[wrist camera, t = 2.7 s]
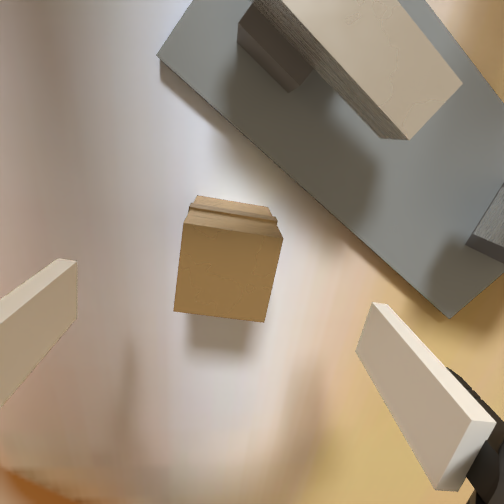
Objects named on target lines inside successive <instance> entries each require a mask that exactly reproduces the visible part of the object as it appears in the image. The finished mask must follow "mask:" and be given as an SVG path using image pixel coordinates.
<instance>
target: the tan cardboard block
mask: <svg viewBox="0 0 504 504" xmlns="http://www.w3.org/2000/svg"><path fill="white" fill-rule="evenodd" d="M282 242H283V237H282V235H281V233H280V231H279V229H278V227H277V219H276V217H273V216H272V214H271V212H270V210H269V208H268V207H264V206H258V205H252V204H246V203H240V202H234V201H228V200H222V199H216V198H210V197H204V196H198V195H197V197H196V199H195V201H194V203H191V204H190V206H189V211H188V215H187V217H186V219H185V221H184V223H183V232H182V241H181V250H180V258H179V267H178V276H177V285H176V293H175V302H174V312H183V313H191V314H199V315H207V316H215V317H223V318H231V319H239V320H247V321H255V322H264V321H265V317H266V312H267V308H268V303H269V299H270V295H271V290H272V286H273V281H274V277H275V273H276V268H277V264H278V260H279V255H280V251H281V246H282Z"/></svg>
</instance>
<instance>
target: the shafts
mask: <svg viewBox="0 0 504 504" xmlns="http://www.w3.org/2000/svg"><path fill="white" fill-rule="evenodd" d="M249 1H250V2H251V3H252V4H253V5H254V6H255V7H256V8H257V9H258V10H259V11H260V12H261V13H262V14H263V15H264V16H265V17H266V18H267V20H268V21H269V22H270V23H271V24H272V25H273V26H274V27H275V28H276V29H277V30H278V31H279V32H280V33H281V34H282V35H283V36H284V37H285V39H286V40H287V41H288V42H289V43H290V44H291V45H292V46H293V47H294V48H295V49H296V50H297V51H298V52H299V53H300V54H301V55H302V56H303V58H304V59H305V60H306V61H307V62H308V63H309V64H310V65H311V66H312V67H313V68H314V69H315V70H316V71H317V72H318V73H319V74H320V75H321V77H322V78H323V79H324V80H325V81H326V82H327V83H328V84H329V85H330V86H331V87H332V88H333V89H334V90H335V91H336V92H337V93H338V94H339V96H340V97H341V98H342V99H343V100H344V101H345V102H346V103H347V104H348V105H349V106H350V107H351V108H352V109H353V110H354V111H355V112H356V113H357V115H358V116H359V117H360V118H361V119H362V120H363V121H364V122H365V123H366V124H367V125H368V126H369V127H370V128H371V129H372V130H373V131H374V132H375V134H376V135H377V136H378V137H379V138H380V139H395V140H410V139H411V138H412V137H413V136H414V135H415V134H416V133H417V132H418V131H419V130H420V129H421V128H422V127H423V125H424V124H425V123H426V122H427V121H428V120H429V119H430V118H431V117H432V116H433V115H434V114H435V113H436V112H437V111H438V110H439V109H440V107H441V106H442V105H443V104H444V103H445V102H446V101H447V100H448V99H449V98H450V97H451V96H452V95H453V94H454V93H455V92H456V90H457V89H458V88H459V87H460V86H461V85H462V84H463V83H462V81H461V80H460V79H459V78H458V76H457V75H456V74H455V73H454V71H453V70H452V69H451V68H450V66H449V65H448V64H447V63H446V61H445V60H444V59H443V57H442V56H441V55H440V54H439V52H438V51H437V50H436V49H435V47H434V46H433V45H432V44H431V42H430V41H429V40H428V38H427V37H426V36H425V35H424V33H423V32H422V31H421V30H420V28H419V27H418V26H417V25H416V23H415V22H414V21H413V20H412V18H411V17H410V16H409V14H408V13H407V12H406V11H405V9H404V8H403V7H402V6H401V4H400V3H399V2H398V1H397V0H249ZM473 234H474V235H477V236H479V237H481V238H484V239H486V240H488V241H491V242H493V243H495V244H498V245H500V246H502V247H504V187H502V188H501V190H500V191H499V193H498V194H497V196H496V198H495V199H494V201H493V202H492V204H491V206H490V207H489V209H488V210H487V212H486V214H485V215H484V217H483V218H482V220H481V222H480V223H479V225H478V226H477V228H476V230H475V231H474V233H473Z"/></svg>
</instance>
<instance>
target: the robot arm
mask: <svg viewBox="0 0 504 504" xmlns="http://www.w3.org/2000/svg"><path fill="white" fill-rule="evenodd" d="M76 319H77V261H74V260H67V259H60V258H58V259H56V260H55V261H54V262H52V263H51V264H49V265H48V266H46V267H45V268H44V269H42V270H41V271H39V272H38V273H37V274H35V275H34V276H32V277H31V278H30V279H28V280H27V281H25V282H24V283H23V284H21V285H20V286H18V287H17V288H15V289H14V290H13V291H11V292H10V293H8V294H7V295H6V296H4V297H3V298H1V299H0V409H1V407H2V406H3V405H4V404H5V403H6V401H7V400H8V399H9V398H10V397H11V396H12V394H13V393H14V392H15V391H16V390H17V388H18V387H19V386H20V385H21V384H22V382H23V381H24V380H25V379H26V378H27V377H28V375H29V374H30V373H31V372H32V371H33V369H34V368H35V367H36V366H37V365H38V364H39V362H40V361H41V360H42V359H43V358H44V356H45V355H46V354H47V353H48V352H49V351H50V349H51V348H52V347H53V346H54V345H55V343H56V342H57V341H58V340H59V339H60V337H61V336H62V335H63V334H64V333H65V332H66V330H67V329H68V328H69V327H70V326H71V324H72V323H73V322H74V321H75V320H76ZM355 352H356V353H357V355H358V357H359V359H360V360H361V362H362V364H363V366H364V367H365V369H366V371H367V373H368V374H369V376H370V378H371V380H372V381H373V383H374V385H375V386H376V388H377V390H378V392H379V393H380V395H381V397H382V399H383V400H384V402H385V404H386V406H387V407H388V409H389V411H390V413H391V414H392V416H393V418H394V420H395V421H396V423H397V425H398V427H399V428H400V430H401V432H402V434H403V435H404V437H405V439H406V440H407V442H408V444H409V446H410V447H411V449H412V451H413V453H414V454H415V456H416V458H417V460H418V461H419V463H420V465H421V467H422V468H423V470H424V472H425V474H426V475H427V477H428V479H429V481H430V482H431V484H432V486H433V488H434V489H435V490H441V491H456V492H458V491H459V489H460V487H461V486H462V484H463V482H464V480H465V478H466V477H467V478H468V480H469V481H470V483H471V484H472V486H473V487H474V488H475V489H474V491H473V493H472V495H471V496H470V498H469V500H468V501H467V503H466V504H504V422H503V421H502V420H501V418H500V417H499V416H498V415H497V414H496V413H495V412H494V411H493V410H492V409H491V408H490V407H489V406H488V405H487V404H486V403H485V402H484V401H483V400H481V399H480V398H481V397H480V396H479V395H478V394H477V393H476V392H475V391H473V390H472V388H471V387H470V386H469V385H468V384H467V383H466V382H465V381H464V380H463V379H462V377H460V376H459V375H457V374H456V373H455V372H453V371H452V370H451V369H449V368H448V367H445V366H444V365H443V364H442V363H441V362H440V361H439V360H438V359H437V357H436V356H435V355H434V354H433V353H432V352H431V351H430V350H429V349H428V348H427V347H426V346H425V344H424V343H423V342H422V341H421V340H420V339H419V338H418V337H417V336H416V335H415V334H414V333H413V331H412V330H411V329H410V328H409V327H408V326H407V325H406V324H405V323H404V322H403V321H402V320H401V318H400V317H399V316H398V315H397V314H396V313H395V312H394V311H393V310H392V309H391V308H390V307H389V305H388V304H382V303H375V302H372V304H371V307H370V310H369V313H368V316H367V318H366V321H365V324H364V327H363V330H362V333H361V336H360V339H359V342H358V345H357V348H356V351H355Z"/></svg>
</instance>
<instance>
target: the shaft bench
mask: <svg viewBox="0 0 504 504" xmlns="http://www.w3.org/2000/svg"><path fill="white" fill-rule="evenodd" d="M397 1H398V2H399V3H400V4H401V6H402V7H403V8H404V9H405V11H406V12H407V13H408V14H409V16H410V17H411V18H412V20H413V21H414V22H415V23H416V25H417V26H418V27H419V28H420V30H421V31H422V32H423V33H424V35H425V36H426V37H427V38H428V40H429V41H430V42H431V44H432V45H433V46H434V47H435V49H436V50H437V51H438V52H439V54H440V55H441V56H442V57H443V59H444V60H445V61H446V63H447V64H448V65H449V66H450V68H451V69H452V70H453V71H454V73H455V74H456V75H457V76H458V78H459V79H460V80H461V81H462V83H463V84H462V85H461V86H460V87H459V88H458V89H457V90H456V92H455V93H454V94H453V95H452V96H451V97H450V98H449V99H448V100H447V101H446V102H445V103H444V104H443V105H442V106H441V107H440V109H439V110H438V111H437V112H436V113H435V114H434V115H433V116H432V117H431V118H430V119H429V120H428V121H427V122H426V123H425V124H424V125H423V127H422V128H421V129H420V130H419V131H418V132H417V133H416V134H415V135H414V136H413V137H412V138H411V139H410V140H395V139H380V138H379V137H378V136H377V135H376V134H375V132H374V131H373V130H372V129H371V128H370V127H369V126H368V125H367V124H366V123H365V122H364V121H363V120H362V119H361V118H360V117H359V116H358V115H357V113H356V112H355V111H354V110H353V109H352V108H351V107H350V106H349V105H348V104H347V103H346V102H345V101H344V100H343V99H342V98H341V97H340V96H339V94H338V93H337V92H336V91H335V90H334V89H333V88H332V87H331V86H330V85H329V84H328V83H327V82H326V81H325V80H324V79H323V78H322V77H321V75H320V74H319V73H318V72H317V71H316V70H315V69H314V68H313V67H312V66H311V65H310V64H309V63H308V62H307V61H306V60H305V59H304V58H303V56H302V55H301V54H300V53H299V52H298V51H297V50H296V49H295V48H294V47H293V46H292V45H291V44H290V43H289V42H288V41H287V40H286V39H285V37H284V36H283V35H282V34H281V33H280V32H279V31H278V30H277V29H276V28H275V27H274V26H273V25H272V24H271V23H270V22H269V21H268V20H267V18H266V17H265V16H264V15H263V14H262V13H261V12H260V11H259V10H258V9H257V8H256V7H255V6H254V5H253V4H252V3H251V2H250V1H249V0H193V1H192V2H191V4H190V5H189V7H188V8H187V10H186V11H185V13H184V14H183V16H182V17H181V19H180V20H179V22H178V23H177V25H176V26H175V28H174V29H173V31H172V32H171V34H170V35H169V37H168V38H167V40H166V41H165V43H164V44H163V46H162V47H161V49H160V50H159V52H158V53H157V55H156V56H157V57H158V58H159V59H160V60H161V61H163V62H164V63H165V64H166V65H167V66H168V67H169V68H170V69H171V70H173V71H174V72H175V73H176V74H177V75H178V76H179V77H180V78H181V79H183V80H184V81H185V82H186V83H187V84H188V85H189V86H190V87H191V88H193V89H194V90H195V91H196V92H197V93H198V94H199V95H200V96H201V97H203V98H204V99H205V100H206V101H207V102H208V103H209V104H210V105H211V106H213V107H214V108H215V109H216V110H217V111H218V112H219V113H220V114H222V115H223V116H224V117H225V118H226V119H227V120H228V121H229V122H230V123H232V124H233V125H234V126H235V127H236V128H237V129H238V130H239V131H240V132H242V133H243V134H244V135H245V136H246V137H247V138H248V139H249V140H250V141H252V142H253V143H254V144H255V145H256V146H257V147H258V148H259V149H260V150H262V151H263V152H264V153H265V154H266V155H267V156H268V157H269V158H270V159H272V160H273V161H274V162H275V163H276V164H277V165H278V166H279V167H280V168H282V169H283V170H284V171H285V172H286V173H287V174H288V175H289V176H290V177H292V178H293V179H294V180H295V181H296V182H297V183H298V184H299V185H300V186H302V187H303V188H304V189H305V190H306V191H307V192H308V193H309V194H310V195H312V196H313V197H314V198H315V199H316V200H317V201H318V202H319V203H320V204H322V205H323V206H324V207H325V208H326V209H327V210H328V211H329V212H330V213H332V214H333V215H334V216H335V217H336V218H337V219H338V220H339V221H340V222H342V223H343V224H344V225H345V226H346V227H347V228H348V229H349V230H350V231H352V232H353V233H354V234H355V235H356V236H357V237H358V238H359V239H360V240H362V241H363V242H364V243H365V244H366V245H367V246H368V247H369V248H371V249H372V250H373V251H374V252H375V253H376V254H377V255H378V256H379V257H381V258H382V259H383V260H384V261H385V262H386V263H387V264H388V265H389V266H391V267H392V268H393V269H394V270H395V271H396V272H397V273H398V274H399V275H401V276H402V277H403V278H404V279H405V280H406V281H407V282H408V283H409V284H411V285H412V286H413V287H414V288H415V289H416V290H417V291H418V292H419V293H421V294H422V295H423V296H424V297H425V298H426V299H427V300H428V301H429V302H431V303H432V304H433V305H434V306H435V307H436V308H437V309H438V310H439V311H441V312H442V313H443V314H444V315H445V316H446V317H447V318H449V319H450V318H452V317H453V316H454V315H455V314H456V313H457V312H459V311H460V310H461V309H462V308H463V307H464V306H466V305H467V304H468V303H469V302H470V301H471V300H473V299H474V298H475V297H476V296H477V295H478V294H480V293H481V292H482V291H483V290H484V289H485V288H486V287H488V286H489V285H490V284H491V283H492V282H493V281H495V280H496V279H497V278H498V277H499V276H500V275H502V274H503V273H504V247H502V246H500V245H498V244H495V243H493V242H491V241H488V240H486V239H484V238H481V237H479V236H477V235H474V234H473V233H474V231H475V230H476V228H477V226H478V225H479V223H480V222H481V220H482V218H483V217H484V215H485V214H486V212H487V210H488V209H489V207H490V206H491V204H492V202H493V201H494V199H495V198H496V196H497V194H498V193H499V191H500V190H501V188H502V187H504V103H503V102H502V101H501V99H500V98H499V97H498V95H497V94H496V93H495V91H494V90H493V89H492V87H491V86H490V85H489V84H488V82H487V81H486V80H485V78H484V77H483V76H482V74H481V73H480V72H479V70H478V69H477V68H476V66H475V65H474V64H473V63H472V61H471V60H470V59H469V57H468V56H467V55H466V53H465V52H464V51H463V49H462V48H461V47H460V45H459V44H458V43H457V42H456V40H455V39H454V38H453V36H452V35H451V34H450V32H449V31H448V30H447V28H446V27H445V26H444V24H443V23H442V22H441V20H440V19H439V18H438V17H437V15H436V14H435V13H434V11H433V10H432V9H431V7H430V6H429V5H428V3H427V2H426V1H425V0H397Z"/></svg>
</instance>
